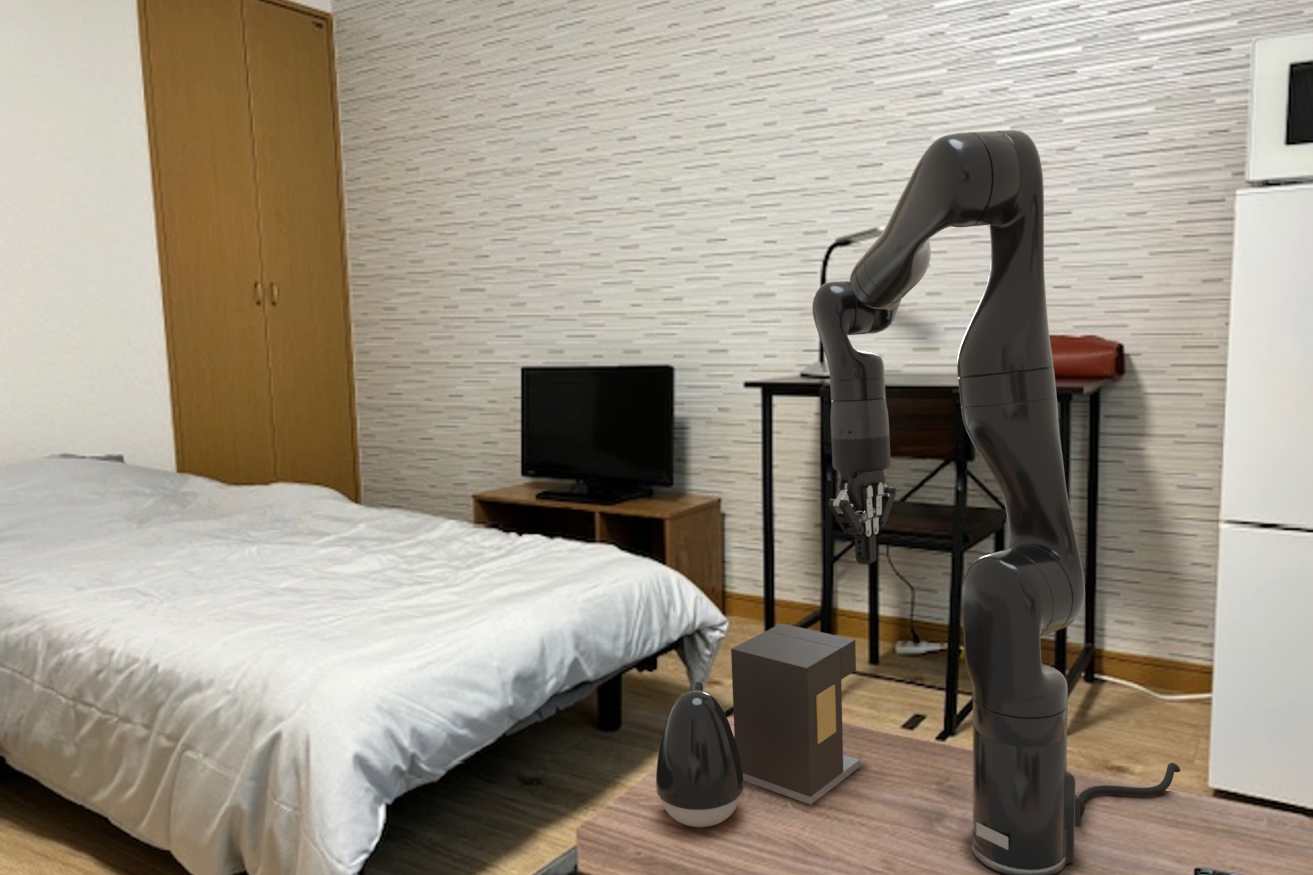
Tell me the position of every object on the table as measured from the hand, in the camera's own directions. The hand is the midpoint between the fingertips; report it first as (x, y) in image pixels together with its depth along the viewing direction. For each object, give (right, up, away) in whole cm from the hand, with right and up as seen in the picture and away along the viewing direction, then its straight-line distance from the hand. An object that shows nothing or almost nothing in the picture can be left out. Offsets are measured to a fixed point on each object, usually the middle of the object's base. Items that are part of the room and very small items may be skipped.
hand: (866, 562), depth 132 cm
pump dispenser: (-23, -28, -16) cm, 39 cm away
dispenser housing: (-10, -26, -7) cm, 28 cm away
